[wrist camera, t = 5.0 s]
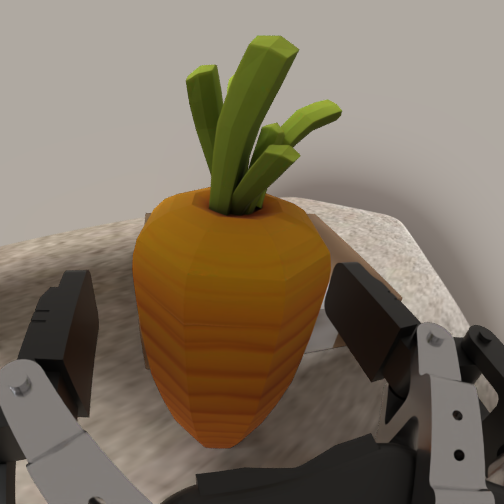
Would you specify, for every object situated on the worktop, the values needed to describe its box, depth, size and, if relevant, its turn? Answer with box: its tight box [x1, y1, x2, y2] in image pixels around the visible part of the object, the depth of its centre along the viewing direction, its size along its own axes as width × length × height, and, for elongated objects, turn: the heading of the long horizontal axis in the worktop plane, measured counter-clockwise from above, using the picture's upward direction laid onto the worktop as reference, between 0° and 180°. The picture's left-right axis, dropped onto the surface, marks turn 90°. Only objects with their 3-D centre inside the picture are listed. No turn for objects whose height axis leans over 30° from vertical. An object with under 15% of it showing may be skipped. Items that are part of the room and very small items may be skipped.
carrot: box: [132, 36, 342, 448], centre depth 9 cm, size 5×5×15 cm
